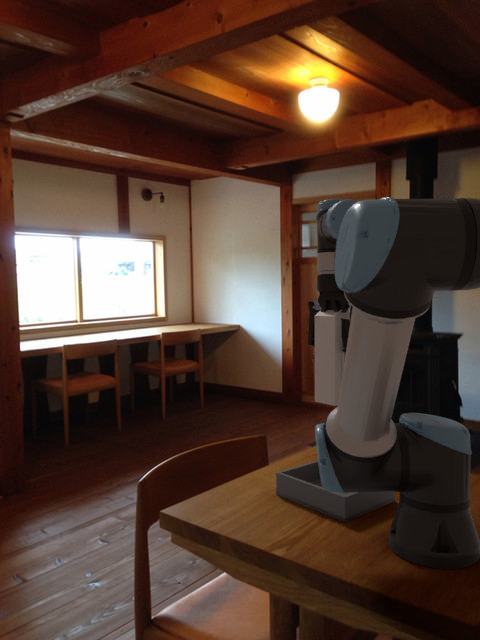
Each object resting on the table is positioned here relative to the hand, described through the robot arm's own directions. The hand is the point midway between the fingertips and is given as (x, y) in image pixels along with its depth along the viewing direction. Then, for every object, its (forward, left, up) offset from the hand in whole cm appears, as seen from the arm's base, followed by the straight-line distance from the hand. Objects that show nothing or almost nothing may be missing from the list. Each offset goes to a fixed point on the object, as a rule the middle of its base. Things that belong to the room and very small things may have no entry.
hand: (334, 379), depth 120 cm
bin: (0, 0, -26) cm, 26 cm away
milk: (0, 0, -5) cm, 5 cm away
